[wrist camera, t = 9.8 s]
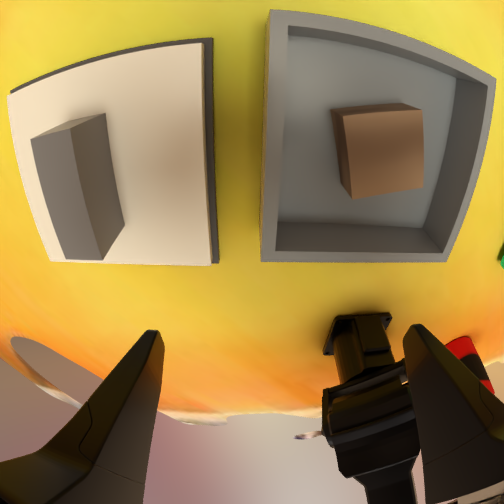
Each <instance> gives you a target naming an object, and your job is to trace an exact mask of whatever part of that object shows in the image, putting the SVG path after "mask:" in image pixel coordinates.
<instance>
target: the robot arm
mask: <svg viewBox="0 0 504 504" xmlns="http://www.w3.org/2000/svg"><path fill="white" fill-rule="evenodd" d="M391 319H392V316H391V314H390V313H385V314H371V315H355V316H339V317H336V318H335V319H334V322H333V324H332V327H331V330H330V333H329V335H328V338H327V341H326V344H325V346H324V349H323V354H324V355H334V356H335V361H336V366H337V370H338V375H339V380H340V385H337V386H334V387H331V388H326V389H323V397H322V430H321V433H322V435H323V436H325V437H326V439H327V442H328V443H329V445H330V447H332V448H334V449H335V452H336V456H337V462H338V468H339V471H340V472H341V473H342V475H343V476H344V477H345V478H351V477H353V478H354V479H356V480H357V481H358V482H359V483H361V484H362V485H363V486H364V487H365V492H366V497H367V502H368V504H418V502H417V495H416V489H415V483H414V478H413V473H412V468H413V465H414V463H415V460H416V458H417V456H418V455H419V452H420V449H421V454H422V462H423V473H424V485H425V501H426V504H437V503H441V502H444V501H448V500H452V499H455V498H457V499H456V500H454V501H452V502H450V503H448V504H504V404H503V403H502V402H501V401H500V400H499V399H498V398H497V397H496V396H495V395H494V394H493V393H492V392H491V391H490V390H489V389H488V388H487V387H486V386H485V385H484V384H483V383H482V382H481V381H479V379H478V378H477V377H476V376H475V375H474V374H473V373H472V372H471V371H470V370H469V369H468V368H467V367H466V366H465V365H464V364H463V363H462V362H461V361H460V360H459V359H458V358H457V357H456V356H455V355H454V354H453V353H452V352H451V351H450V350H449V349H448V348H447V347H446V346H445V345H443V344H442V343H441V342H440V341H439V340H438V339H437V338H436V337H435V336H434V335H433V334H432V333H431V332H430V331H429V330H428V329H426V328H425V327H424V326H423V325H422V324H413V325H411V326H410V328H409V329H408V331H407V333H406V334H405V336H404V338H403V349H404V355H405V358H403V359H402V360H401V361H398V362H396V363H395V360H394V357H393V354H392V351H391V345H390V343H389V340H388V337H387V334H386V332H385V330H386V329H387V327H388V325H389V323H390V321H391ZM164 352H165V346H164V342H163V340H162V337H161V334H160V332H159V331H158V330H147V331H145V333H144V334H143V335H142V336H141V337H140V338H139V340H138V341H137V342H136V343H135V344H134V345H133V346H132V348H131V349H130V350H129V351H128V352H127V353H126V355H125V356H124V357H123V358H122V359H121V361H120V362H119V363H118V364H117V365H116V366H115V368H114V369H113V370H112V371H111V372H110V374H109V375H108V376H107V377H106V378H105V380H104V381H103V382H102V383H101V384H100V386H99V387H98V388H97V389H96V390H95V392H94V393H93V394H92V395H91V396H90V398H89V399H88V401H86V402H85V404H84V405H83V406H82V407H81V408H80V410H79V411H78V412H77V413H76V414H75V415H74V417H73V418H72V419H71V420H70V421H69V422H68V423H67V424H66V425H65V426H64V427H63V428H62V429H61V430H60V431H59V432H58V433H57V434H56V435H55V436H54V437H53V438H52V439H51V440H50V441H49V442H48V443H47V444H46V445H44V446H43V447H42V448H41V449H39V450H38V451H36V452H34V453H32V454H28V455H25V456H22V457H18V458H14V459H11V460H7V461H3V462H0V504H143V496H144V489H145V485H144V484H145V480H146V473H147V466H148V459H149V453H150V446H151V441H152V434H153V429H154V424H155V418H156V413H157V407H158V402H159V397H160V392H161V384H162V373H163V362H164ZM405 381H408V382H407V383H405V384H403V385H402V383H403V382H405Z"/></svg>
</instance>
